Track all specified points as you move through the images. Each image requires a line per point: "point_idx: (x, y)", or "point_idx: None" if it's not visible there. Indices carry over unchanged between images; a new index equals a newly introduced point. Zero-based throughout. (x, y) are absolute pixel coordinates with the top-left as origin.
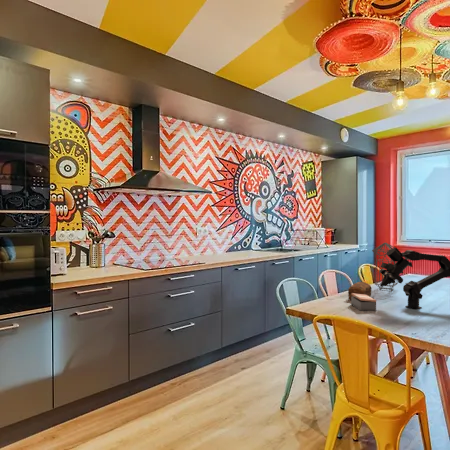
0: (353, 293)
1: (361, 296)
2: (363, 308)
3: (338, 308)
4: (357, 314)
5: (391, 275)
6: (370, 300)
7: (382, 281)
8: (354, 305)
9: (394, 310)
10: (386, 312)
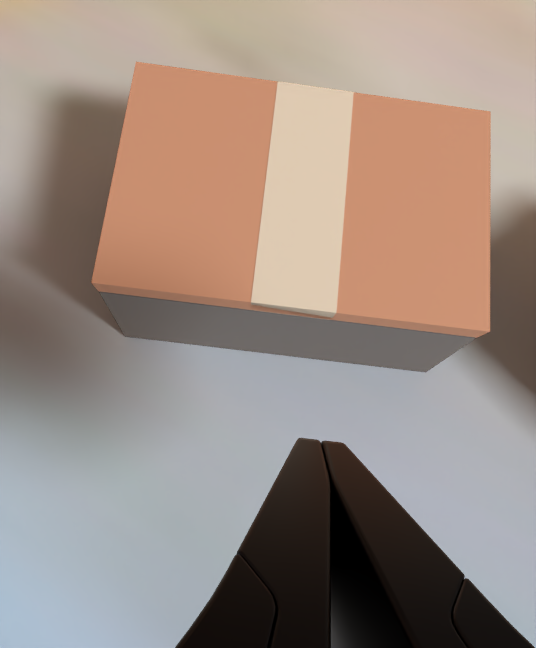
0: (478, 131)
1: (295, 153)
2: None
3: (282, 37)
4: (45, 88)
5: None
6: (112, 200)
7: (377, 535)
8: None
9: (94, 614)
10: (30, 427)
